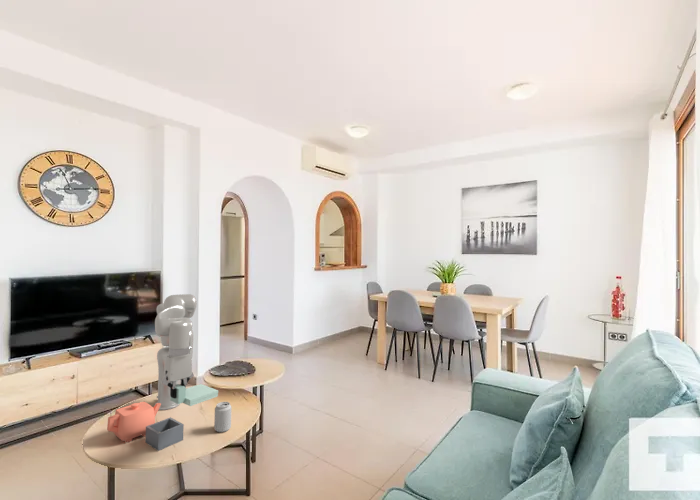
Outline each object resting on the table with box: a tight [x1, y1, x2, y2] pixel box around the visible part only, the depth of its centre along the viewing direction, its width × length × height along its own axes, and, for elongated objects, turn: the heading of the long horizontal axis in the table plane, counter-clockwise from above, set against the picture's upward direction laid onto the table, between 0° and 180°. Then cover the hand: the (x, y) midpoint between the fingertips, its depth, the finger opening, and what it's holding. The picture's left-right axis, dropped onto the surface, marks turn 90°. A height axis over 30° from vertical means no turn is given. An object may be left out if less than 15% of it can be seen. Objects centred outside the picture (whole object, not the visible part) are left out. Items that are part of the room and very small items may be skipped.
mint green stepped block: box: [170, 383, 219, 407], centre depth 152 cm, size 13×16×7 cm
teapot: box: [106, 401, 161, 443], centre depth 163 cm, size 22×13×14 cm, turn 141°
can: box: [213, 401, 232, 433], centre depth 170 cm, size 8×8×12 cm
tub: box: [145, 416, 185, 452], centre depth 158 cm, size 11×11×7 cm
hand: (177, 395), depth 147 cm, fingers closed on mint green stepped block, 3 cm apart
